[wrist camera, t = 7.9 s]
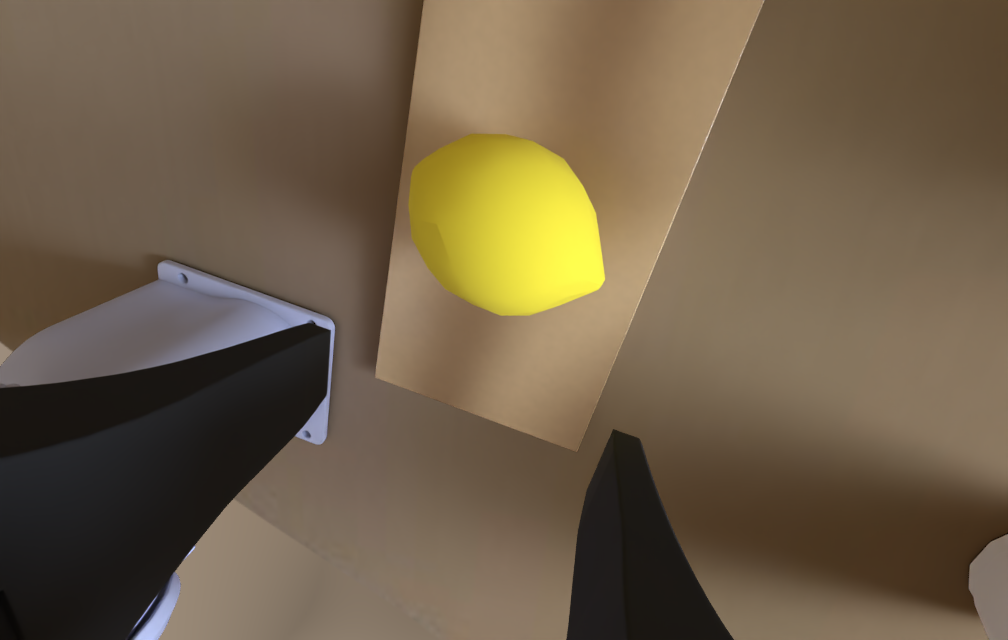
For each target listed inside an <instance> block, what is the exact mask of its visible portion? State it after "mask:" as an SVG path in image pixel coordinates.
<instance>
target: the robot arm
mask: <svg viewBox="0 0 1008 640" xmlns="http://www.w3.org/2000/svg"><path fill="white" fill-rule="evenodd" d="M157 270H158V278H159V280H156V281H154V282H152V283H149V284H147V285H145V286H142V287H140V288H138V289H135V290H133V291H131V292H128V293H126V294H124V295H121V296H119V297H117V298H114V299H112V300H110V301H107V302H105V303H103V304H100V305H98V306H96V307H94V308H91V309H89V310H87V311H84V312H82V313H80V314H77V315H75V316H73V317H70V318H68V319H66V320H63V321H61V322H59V323H56V324H54V325H52V326H49V327H47V328H45V329H44V330H42V331H40V332H38V333H36V334H35V335H33V336H32V337H30V338H29V339H27V340H26V341H25V342H24V343H22V344H21V345H20V346H19V347H18V348H17V349H15V350H14V351H13V352H12V354H11V355H10V356H9V357H8V358H7V359H6V360H5V361H4V362H3V364H2V365H1V366H0V640H158V639H159V637H160V636H161V634H162V632H163V631H164V629H165V627H166V625H167V623H168V621H169V619H170V616H171V613H172V611H173V609H174V607H175V605H176V602H177V599H178V596H179V594H180V587H181V583H180V579H179V576H178V575H177V574H176V573H175V570H176V569H177V568H178V567H179V565H180V564H181V563H182V561H183V560H184V559H185V558H186V557H187V556H188V555H189V554H190V553H191V552H192V551H193V550H194V549H195V544H196V543H197V542H198V541H199V539H200V538H201V537H202V535H203V534H204V533H205V532H206V531H207V529H208V528H209V527H210V525H211V524H212V523H213V522H214V521H215V519H216V518H217V517H218V516H219V515H220V513H221V512H222V511H223V510H224V508H225V507H226V506H227V505H228V504H229V503H230V502H231V501H232V500H233V498H234V497H235V496H236V495H237V494H238V493H239V492H240V491H241V490H242V489H243V488H244V487H245V486H246V485H247V484H248V483H249V482H250V481H251V480H252V479H253V478H254V477H255V476H256V475H257V474H258V473H259V472H260V471H261V470H262V469H263V468H264V467H265V466H266V465H267V464H268V463H269V462H270V461H271V460H272V458H273V457H274V456H275V455H276V454H277V453H278V452H279V451H280V450H281V449H282V448H283V447H284V446H285V445H286V444H287V443H288V442H289V441H290V440H291V439H292V438H293V437H294V436H296V437H298V438H301V439H304V440H306V441H309V442H311V443H314V444H318V445H319V444H322V443H323V442H324V441H325V440H326V438H327V427H328V414H329V401H330V388H331V375H332V362H333V348H334V335H335V325H334V323H333V321H332V320H331V319H330V318H328V317H326V316H324V315H321V314H318V313H316V312H313V311H310V310H307V309H304V308H302V307H299V306H296V305H293V304H290V303H288V302H285V301H282V300H279V299H277V298H274V297H271V296H268V295H265V294H263V293H260V292H257V291H254V290H252V289H249V288H246V287H243V286H240V285H238V284H235V283H232V282H229V281H226V280H224V279H221V278H218V277H215V276H213V275H210V274H207V273H204V272H201V271H199V270H196V269H193V268H190V267H188V266H185V265H182V264H179V263H176V262H174V261H171V260H165V261H162V262H160V263H159V264H158V267H157ZM312 321H314V322H315V323H316V325H315V324H313V323H312ZM566 640H734V639H733V638H732V636H731V635H730V633H729V632H728V630H727V629H726V627H725V626H724V624H723V623H722V621H721V620H720V618H719V616H718V615H717V613H716V611H715V610H714V608H713V607H712V605H711V603H710V602H709V600H708V598H707V596H706V594H705V593H704V591H703V589H702V587H701V586H700V584H699V582H698V580H697V578H696V576H695V574H694V572H693V571H692V569H691V567H690V565H689V563H688V561H687V559H686V557H685V555H684V552H683V550H682V548H681V546H680V544H679V542H678V540H677V537H676V535H675V533H674V531H673V528H672V526H671V524H670V521H669V519H668V516H667V514H666V511H665V509H664V506H663V504H662V501H661V499H660V496H659V494H658V491H657V488H656V486H655V483H654V480H653V477H652V474H651V471H650V468H649V465H648V462H647V459H646V456H645V452H644V449H643V446H642V443H641V441H640V439H639V438H637V437H634V436H631V435H628V434H625V433H622V432H619V431H617V430H614V429H613V431H612V433H611V436H610V438H609V440H608V443H607V445H606V447H605V450H604V452H603V454H602V456H601V459H600V461H599V463H598V466H597V468H596V470H595V473H594V475H593V477H592V480H591V482H590V484H589V487H588V489H587V492H586V496H585V501H584V505H583V510H582V514H581V519H580V523H579V528H578V535H577V544H576V554H575V564H574V574H573V584H572V594H571V605H570V615H569V625H568V632H567V639H566Z"/></svg>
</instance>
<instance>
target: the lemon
mask: <svg viewBox="0 0 1008 640" xmlns="http://www.w3.org/2000/svg"><path fill="white" fill-rule="evenodd" d="M408 205H409V215H410V225H411V236H412V240H413V242H414V243H415V245H416V247H417V249H418V251H419V253H420V255H421V257H422V258H423V260H424V262H425V264H426V266H427V268H428V269H429V270H430V272H431V273H432V274H433V275H434V276H435V278H436V279H437V280H438V281H439V282H440V284H441V285H442V286H443V287H444V288H445V289H446V290H448V291H449V292H451V293H453V294H455V295H457V296H458V297H460V298H462V299H464V300H466V301H467V302H469V303H471V304H473V305H475V306H477V307H480V308H482V309H485V310H488V311H490V312H493V313H495V314H498V315H500V316H530V315H533V314H536V313H539V312H542V311H545V310H548V309H551V308H554V307H557V306H560V305H562V304H565V303H567V302H569V301H572V300H574V299H577V298H579V297H582V296H584V295H587V294H589V293H592V292H594V291H597V290H598V289H599V288H600V287H601V286H602V284H603V282H604V281H605V274H604V266H603V259H602V251H601V244H600V237H599V230H598V223H597V217H596V212H595V210H594V208H593V206H592V203H591V201H590V199H589V197H588V195H587V193H586V191H585V189H584V187H583V185H582V183H581V182H580V181H579V179H578V178H577V176H576V175H575V174H574V172H573V171H572V169H571V168H570V167H569V165H568V164H567V162H566V161H565V160H564V159H563V158H562V157H560V156H558V155H557V154H555V153H553V152H551V151H550V150H548V149H546V148H544V147H543V146H541V145H539V144H537V143H536V142H534V141H531V140H527V139H523V138H519V137H515V136H511V135H507V134H469V135H467V136H465V137H463V138H461V139H459V140H457V141H454V142H452V143H450V144H448V145H446V146H444V147H442V148H440V149H438V150H437V151H435V152H433V153H432V154H430V155H429V156H427V157H426V158H424V159H423V160H422V161H421V162H420V163H418V164H417V165H416V166H415V167H414V169H413V171H412V175H411V182H410V193H409V204H408Z"/></svg>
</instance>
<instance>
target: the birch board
mask: <svg viewBox="0 0 1008 640" xmlns="http://www.w3.org/2000/svg"><path fill="white" fill-rule="evenodd" d="M764 1H765V0H424V1H423V9H422V17H421V24H420V32H419V40H418V48H417V55H416V63H415V71H414V78H413V86H412V94H411V102H410V109H409V117H408V125H407V133H406V140H405V148H404V156H403V163H402V171H401V179H400V187H399V194H398V202H397V210H396V217H395V225H394V233H393V241H392V248H391V256H390V264H389V271H388V279H387V287H386V295H385V302H384V310H383V318H382V325H381V333H380V341H379V349H378V356H377V364H376V372H375V378H378V379H381V380H383V381H386V382H389V383H391V384H394V385H397V386H400V387H402V388H405V389H408V390H410V391H413V392H416V393H418V394H421V395H424V396H426V397H429V398H432V399H435V400H437V401H440V402H443V403H445V404H448V405H451V406H453V407H456V408H459V409H462V410H464V411H467V412H470V413H472V414H475V415H478V416H480V417H483V418H486V419H488V420H491V421H494V422H497V423H499V424H502V425H505V426H507V427H510V428H513V429H515V430H518V431H521V432H524V433H526V434H529V435H532V436H534V437H537V438H540V439H542V440H545V441H548V442H550V443H553V444H556V445H559V446H561V447H564V448H567V449H569V450H572V451H575V452H577V451H578V449H579V447H580V444H581V442H582V440H583V437H584V435H585V432H586V430H587V428H588V425H589V423H590V420H591V418H592V415H593V413H594V411H595V408H596V406H597V403H598V401H599V399H600V396H601V394H602V391H603V389H604V387H605V384H606V382H607V379H608V377H609V374H610V372H611V370H612V367H613V365H614V362H615V360H616V358H617V355H618V353H619V350H620V348H621V346H622V343H623V341H624V338H625V336H626V333H627V331H628V329H629V326H630V324H631V321H632V319H633V317H634V314H635V312H636V309H637V307H638V305H639V302H640V300H641V297H642V295H643V292H644V290H645V288H646V285H647V283H648V280H649V278H650V276H651V273H652V271H653V268H654V266H655V264H656V261H657V259H658V256H659V254H660V251H661V249H662V247H663V244H664V242H665V239H666V237H667V235H668V232H669V230H670V227H671V225H672V223H673V220H674V218H675V215H676V213H677V210H678V208H679V206H680V203H681V201H682V198H683V196H684V194H685V191H686V189H687V186H688V184H689V182H690V179H691V177H692V174H693V172H694V169H695V167H696V165H697V162H698V160H699V157H700V155H701V153H702V150H703V148H704V145H705V143H706V141H707V138H708V136H709V133H710V131H711V128H712V126H713V124H714V121H715V119H716V116H717V114H718V112H719V109H720V107H721V104H722V102H723V100H724V97H725V95H726V92H727V90H728V87H729V85H730V83H731V80H732V78H733V75H734V73H735V71H736V68H737V66H738V63H739V61H740V59H741V56H742V54H743V51H744V49H745V46H746V44H747V42H748V39H749V37H750V34H751V32H752V30H753V27H754V25H755V22H756V20H757V18H758V15H759V13H760V10H761V8H762V5H763V3H764ZM469 134H507V135H511V136H515V137H519V138H523V139H527V140H531V141H534V142H536V143H537V144H539V145H541V146H543V147H544V148H546V149H548V150H550V151H551V152H553V153H555V154H557V155H558V156H560V157H562V158H563V159H564V160H565V161H566V162H567V164H568V165H569V167H570V168H571V169H572V171H573V172H574V174H575V175H576V176H577V178H578V179H579V181H580V182H581V183H582V185H583V187H584V189H585V191H586V193H587V195H588V197H589V199H590V201H591V203H592V206H593V208H594V210H595V212H596V217H597V223H598V230H599V237H600V244H601V251H602V259H603V266H604V274H605V281H604V282H603V284H602V286H601V287H600V288H599V289H598V290H597V291H594V292H592V293H589V294H587V295H584V296H582V297H579V298H577V299H574V300H572V301H569V302H567V303H565V304H562V305H560V306H557V307H554V308H551V309H548V310H545V311H542V312H539V313H536V314H533V315H530V316H500V315H498V314H495V313H493V312H490V311H488V310H485V309H482V308H480V307H477V306H475V305H473V304H471V303H469V302H467V301H466V300H464V299H462V298H460V297H458V296H457V295H455V294H453V293H451V292H449V291H448V290H446V289H445V288H444V287H443V286H442V285H441V284H440V282H439V281H438V280H437V279H436V278H435V276H434V275H433V274H432V273H431V272H430V270H429V269H428V268H427V266H426V264H425V262H424V260H423V258H422V257H421V255H420V253H419V251H418V249H417V247H416V245H415V243H414V242H413V240H412V236H411V225H410V215H409V205H408V204H409V193H410V182H411V175H412V171H413V169H414V167H415V166H416V165H417V164H418V163H420V162H421V161H422V160H423V159H424V158H426V157H427V156H429V155H430V154H432V153H433V152H435V151H437V150H438V149H440V148H442V147H444V146H446V145H448V144H450V143H452V142H454V141H457V140H459V139H461V138H463V137H465V136H467V135H469Z"/></svg>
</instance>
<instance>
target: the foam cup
mask: <svg viewBox="0 0 1008 640" xmlns="http://www.w3.org/2000/svg"><path fill="white" fill-rule="evenodd" d="M969 590H970V592H971V594H972V595H973V597H974V605H975V607H976V609H977V612H978V614H979V617H980V619H981V622H982V624H983V627H984V629H985V632H986V634H987V637H988V639H989V640H1008V534H1007V535H1005V536H1003V537H1000V538H998V539H996V540H994V541H991V542H990V543H989V544H988V545H987V546H986V547H985V548H984V549H983V551H982V552H981V553H980V554H979V555H978V556H977V557H976V558H975V559H974V561H973V562H972V563H971V564H970V570H969Z"/></svg>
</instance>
